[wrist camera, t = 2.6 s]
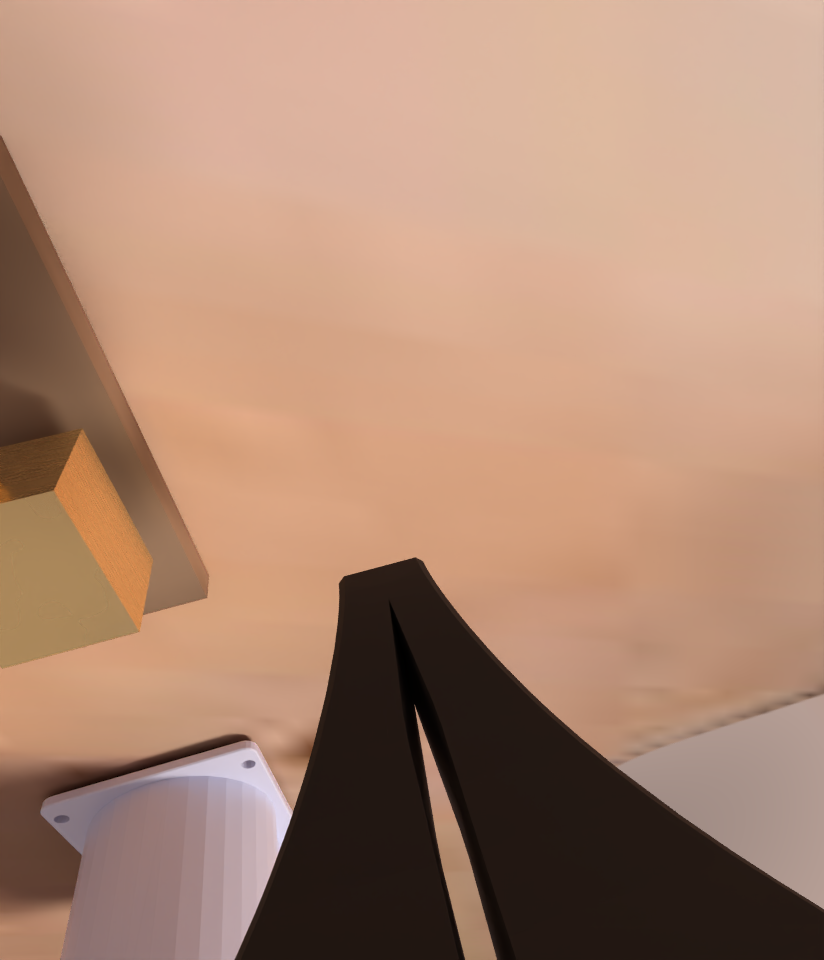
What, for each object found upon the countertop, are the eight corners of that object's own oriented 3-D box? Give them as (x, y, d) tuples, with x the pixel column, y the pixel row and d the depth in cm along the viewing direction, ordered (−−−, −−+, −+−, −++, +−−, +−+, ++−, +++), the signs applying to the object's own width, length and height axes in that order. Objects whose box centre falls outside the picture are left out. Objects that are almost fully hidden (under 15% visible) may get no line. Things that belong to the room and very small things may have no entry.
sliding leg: (153, 560, 16) (139, 631, 14) (34, 590, 16) (2, 668, 14) (9, 292, 12) (-40, 338, 10) (-156, 326, 11) (-241, 381, 9)
